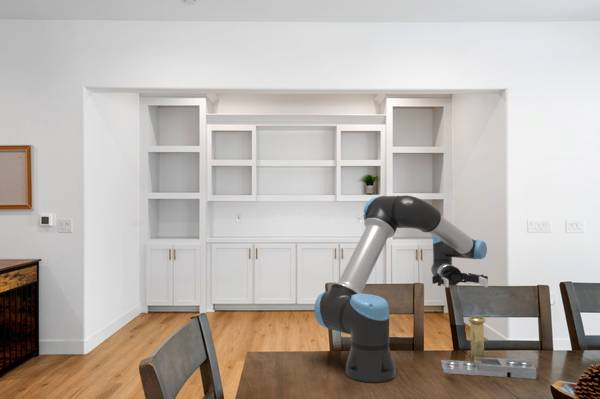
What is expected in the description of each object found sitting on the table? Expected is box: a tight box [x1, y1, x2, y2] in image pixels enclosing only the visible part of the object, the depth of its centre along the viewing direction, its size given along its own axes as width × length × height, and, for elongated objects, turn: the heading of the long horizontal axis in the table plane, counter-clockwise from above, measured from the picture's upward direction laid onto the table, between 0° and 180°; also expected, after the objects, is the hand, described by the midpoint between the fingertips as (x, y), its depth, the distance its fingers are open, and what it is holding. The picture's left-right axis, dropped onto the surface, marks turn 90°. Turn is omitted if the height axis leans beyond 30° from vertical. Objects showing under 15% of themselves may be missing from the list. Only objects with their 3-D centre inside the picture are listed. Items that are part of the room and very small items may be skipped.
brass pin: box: [468, 315, 486, 362], centre depth 150 cm, size 5×5×14 cm
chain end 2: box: [474, 356, 537, 380], centre depth 139 cm, size 16×8×4 cm, turn 78°
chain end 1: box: [440, 359, 508, 378], centre depth 141 cm, size 18×8×2 cm, turn 78°
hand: (467, 283), depth 160 cm, fingers open, 13 cm apart
